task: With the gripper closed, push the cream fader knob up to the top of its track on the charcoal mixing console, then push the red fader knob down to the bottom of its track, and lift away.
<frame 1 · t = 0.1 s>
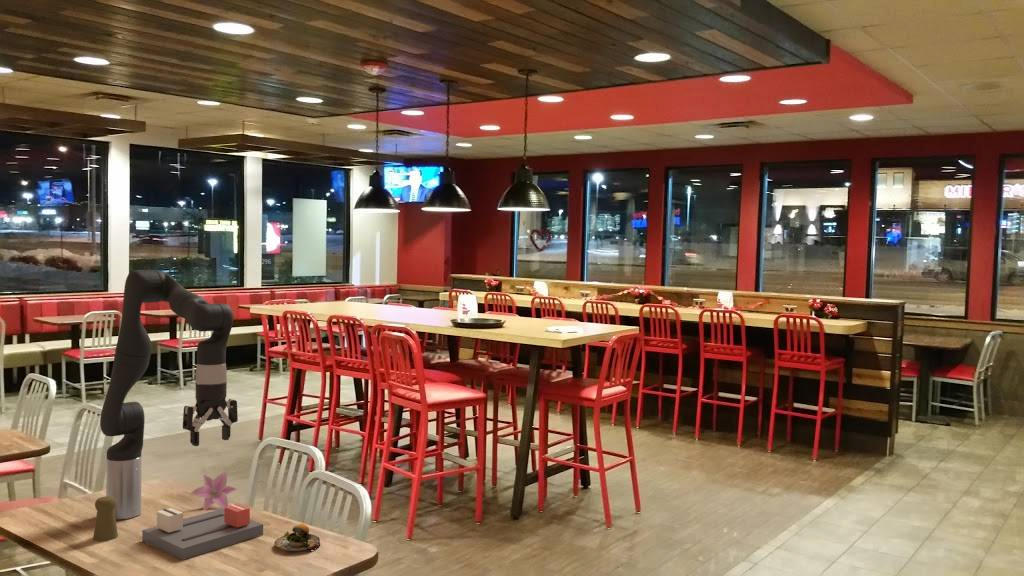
hand: (210, 442, 205), 29 cm above the table, fingers open, 8 cm apart
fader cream: (169, 519, 214), point 6 cm above the table, slide at 0.0 cm
lily: (214, 506, 243), on the table
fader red: (237, 515, 219), point 6 cm above the table, slide at 14.0 cm
console: (203, 537, 217), on the table
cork: (105, 537, 215), on the table
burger: (297, 548, 212), on the table
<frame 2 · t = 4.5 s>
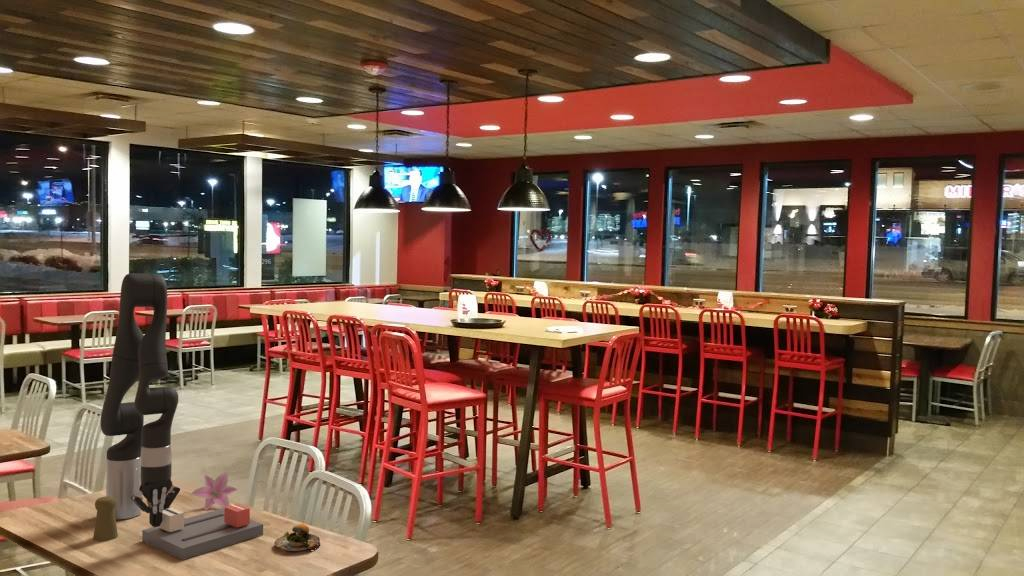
hand: (155, 526, 211), 5 cm above the table, fingers closed
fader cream: (171, 519, 214), point 6 cm above the table, slide at 0.4 cm, touching gripper
everything else where it was.
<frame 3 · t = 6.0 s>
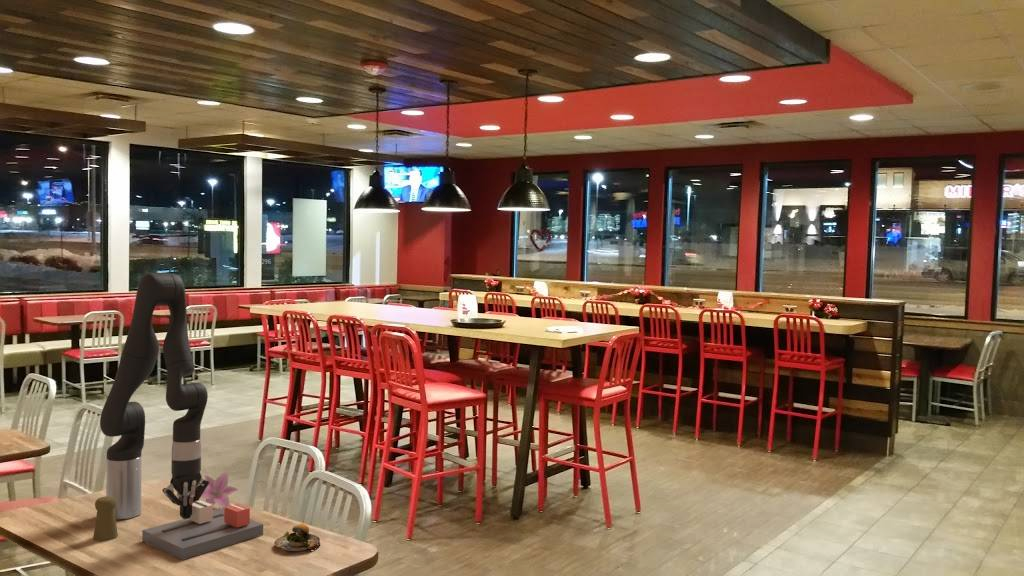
hand: (185, 517, 218), 5 cm above the table, fingers closed
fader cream: (200, 511, 221), point 6 cm above the table, slide at 8.9 cm, touching gripper
everything else where it was.
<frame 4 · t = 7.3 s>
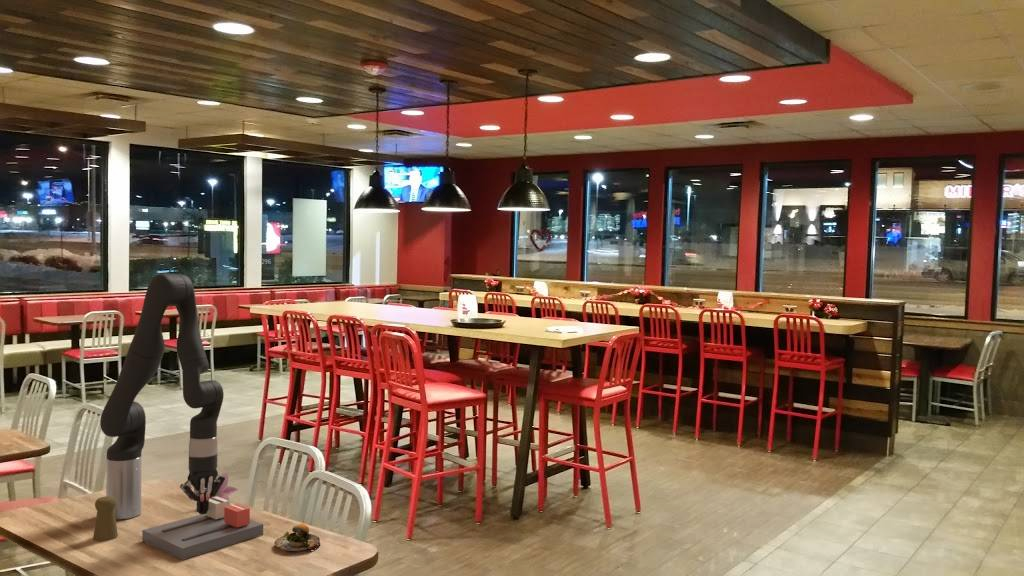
hand: (202, 513, 222), 5 cm above the table, fingers closed
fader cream: (216, 507, 225), point 6 cm above the table, slide at 13.9 cm, touching gripper
everything else where it was.
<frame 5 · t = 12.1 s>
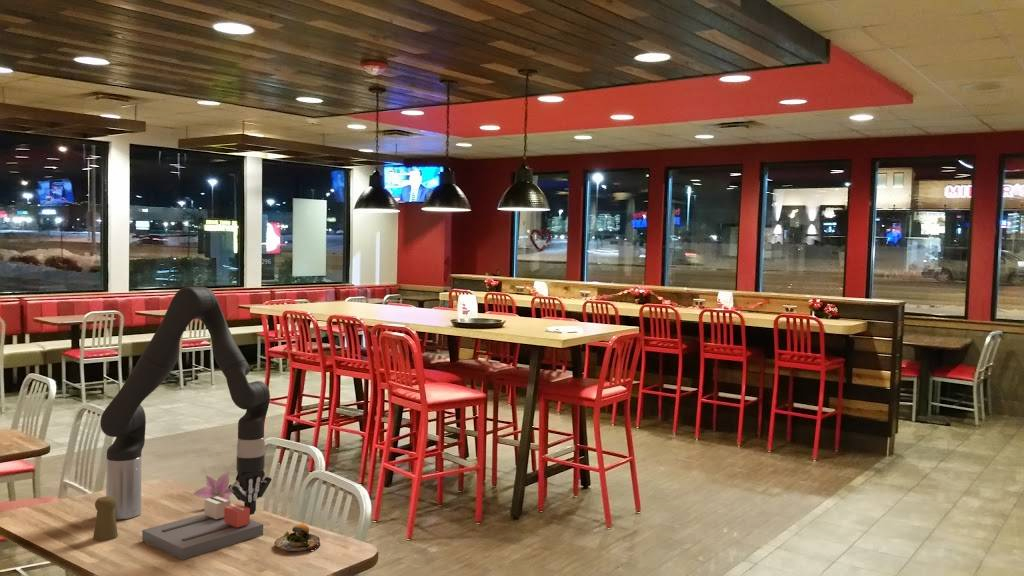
hand: (249, 513, 222), 5 cm above the table, fingers closed
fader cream: (216, 507, 225), point 6 cm above the table, slide at 14.1 cm
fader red: (237, 515, 219), point 6 cm above the table, slide at 14.0 cm, touching gripper
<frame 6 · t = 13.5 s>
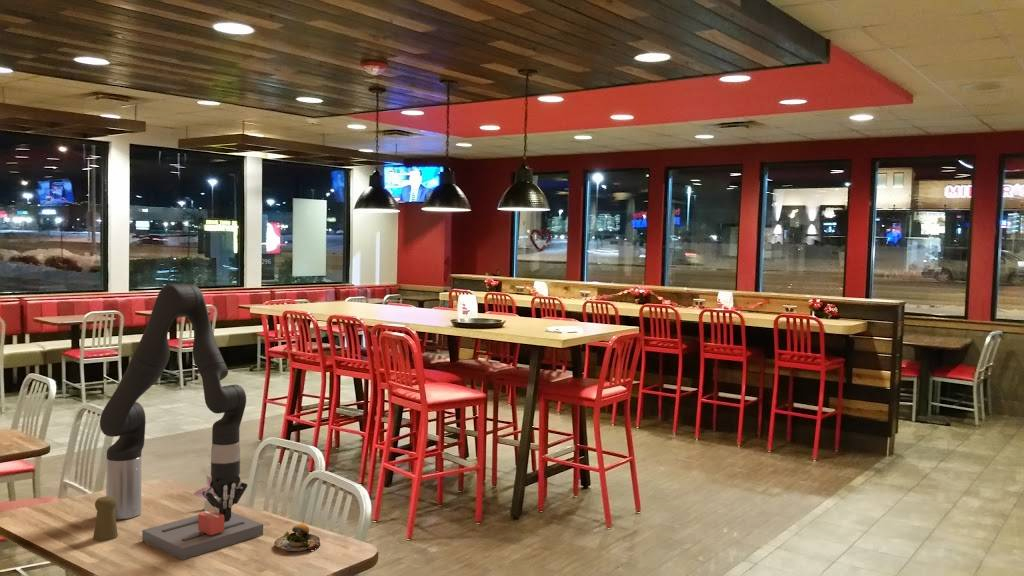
hand: (224, 521, 216), 5 cm above the table, fingers closed
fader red: (211, 522, 213), point 6 cm above the table, slide at 6.1 cm, touching gripper
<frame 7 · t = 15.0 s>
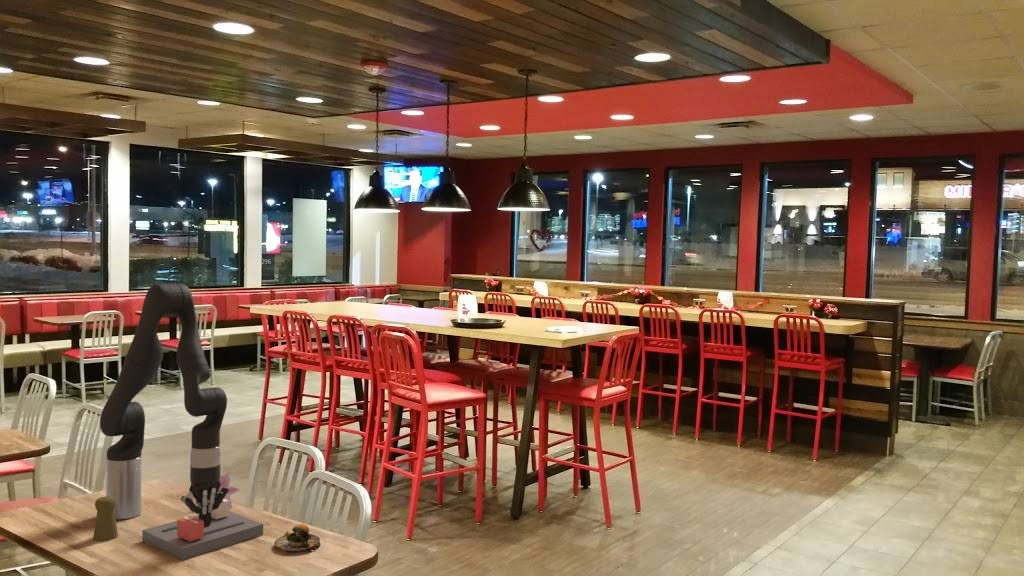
hand: (204, 526, 211), 5 cm above the table, fingers closed
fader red: (190, 528, 208), point 6 cm above the table, slide at 0.1 cm, touching gripper
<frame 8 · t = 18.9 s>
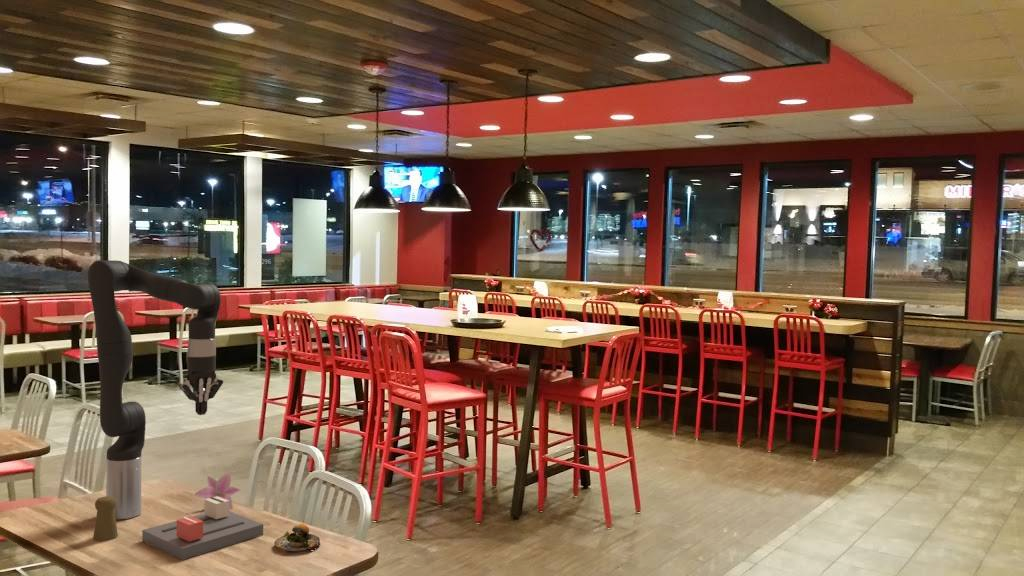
hand: (201, 414, 225), 32 cm above the table, fingers closed
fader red: (189, 528, 208), point 6 cm above the table, slide at 0.0 cm
at the end: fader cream slide at 14.1 cm; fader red slide at 0.0 cm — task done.
